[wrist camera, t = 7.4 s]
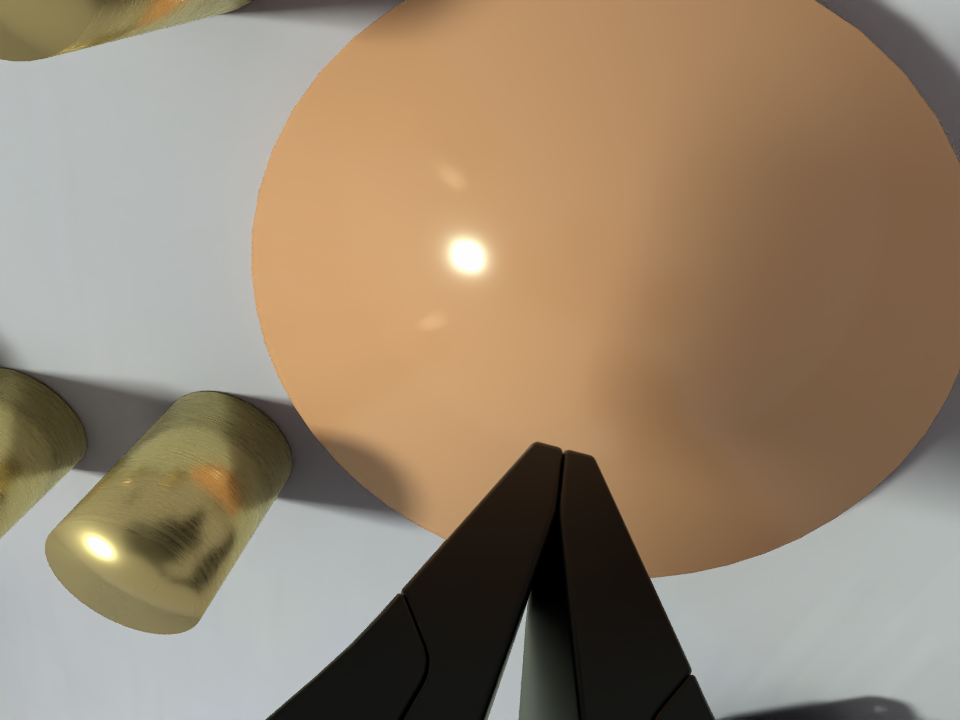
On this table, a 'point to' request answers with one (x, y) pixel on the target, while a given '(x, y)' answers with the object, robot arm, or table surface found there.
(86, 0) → the spacer field
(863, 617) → the table surface
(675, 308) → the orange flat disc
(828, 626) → the table surface
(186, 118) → the table surface
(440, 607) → the robot arm
